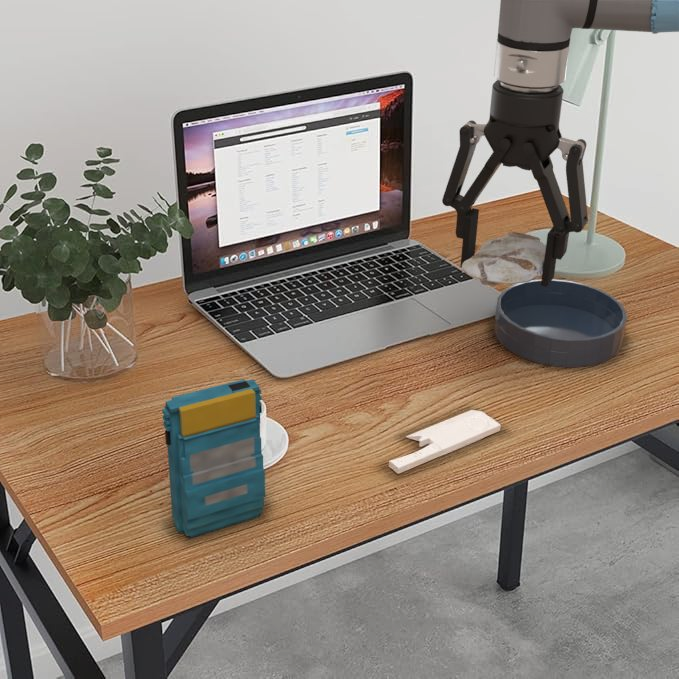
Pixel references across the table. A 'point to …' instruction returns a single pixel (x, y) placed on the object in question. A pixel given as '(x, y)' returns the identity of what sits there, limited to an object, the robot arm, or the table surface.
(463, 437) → the white plastic strip tool
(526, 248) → the stone
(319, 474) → the table surface
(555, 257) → the robot arm
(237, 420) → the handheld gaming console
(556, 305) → the bowl
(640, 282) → the table surface
